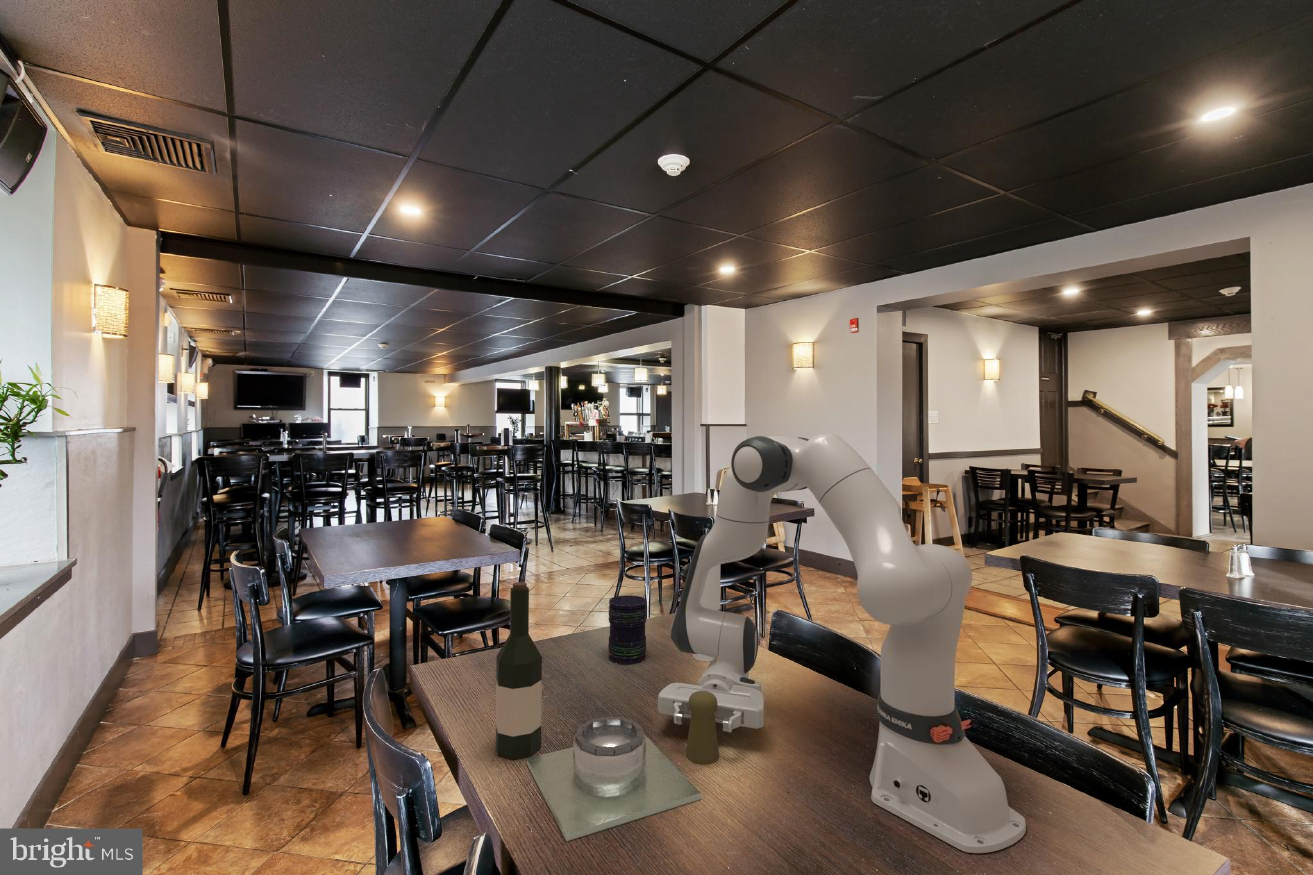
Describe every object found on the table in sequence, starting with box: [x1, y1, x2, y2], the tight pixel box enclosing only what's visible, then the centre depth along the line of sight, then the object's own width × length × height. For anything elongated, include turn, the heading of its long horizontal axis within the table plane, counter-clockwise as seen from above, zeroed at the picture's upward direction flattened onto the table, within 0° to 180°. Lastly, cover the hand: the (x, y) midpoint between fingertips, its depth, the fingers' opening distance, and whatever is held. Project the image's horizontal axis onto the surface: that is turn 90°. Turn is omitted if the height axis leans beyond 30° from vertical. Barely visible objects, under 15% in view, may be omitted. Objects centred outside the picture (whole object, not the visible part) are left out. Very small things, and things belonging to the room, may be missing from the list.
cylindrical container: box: [692, 564, 721, 662], centre depth 154 cm, size 7×7×25 cm
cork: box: [685, 691, 720, 765], centre depth 105 cm, size 6×6×11 cm
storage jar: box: [608, 594, 648, 666], centre depth 152 cm, size 10×10×15 cm
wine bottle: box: [495, 581, 543, 761], centre depth 107 cm, size 8×8×30 cm
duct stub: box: [526, 716, 702, 842], centre depth 97 cm, size 22×22×8 cm
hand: (701, 723), depth 104 cm, fingers open, 8 cm apart
